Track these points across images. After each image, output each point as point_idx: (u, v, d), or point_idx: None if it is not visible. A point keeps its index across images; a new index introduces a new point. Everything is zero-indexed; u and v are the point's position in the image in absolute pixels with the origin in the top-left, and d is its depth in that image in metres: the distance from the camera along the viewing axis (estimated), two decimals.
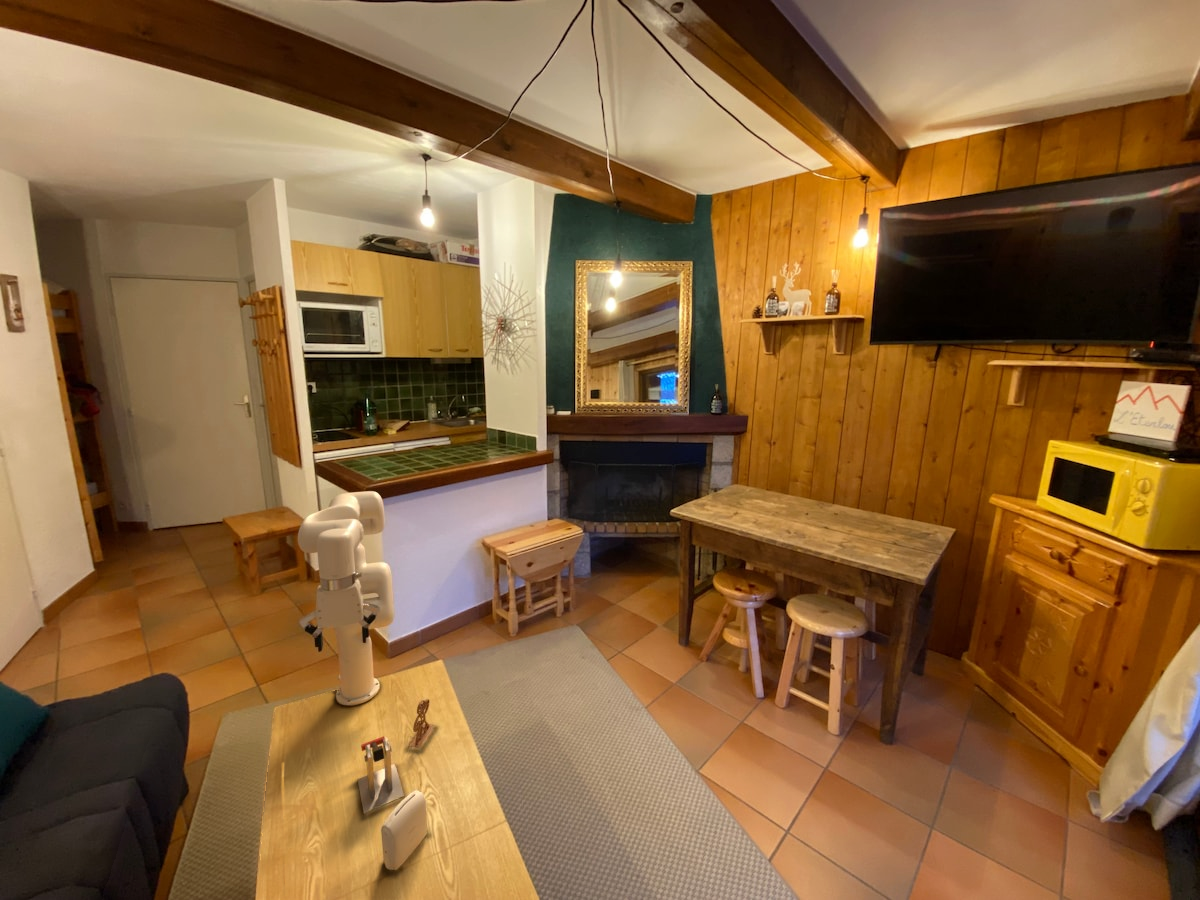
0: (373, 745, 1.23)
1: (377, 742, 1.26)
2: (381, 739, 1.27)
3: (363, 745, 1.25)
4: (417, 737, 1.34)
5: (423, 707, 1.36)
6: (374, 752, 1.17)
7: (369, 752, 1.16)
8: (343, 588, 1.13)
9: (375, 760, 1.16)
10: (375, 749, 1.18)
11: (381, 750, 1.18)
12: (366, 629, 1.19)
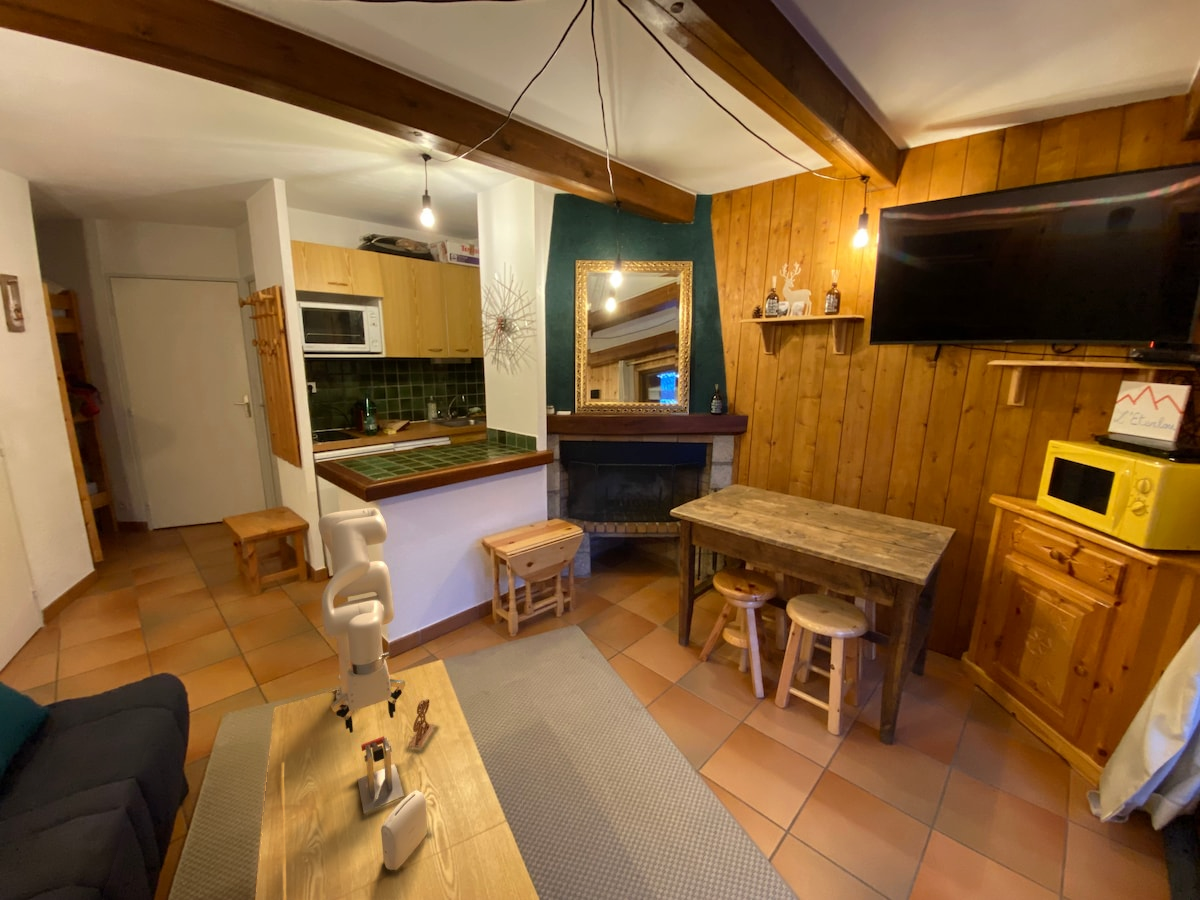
0: (373, 745, 1.23)
1: (377, 742, 1.26)
2: (381, 739, 1.27)
3: (363, 745, 1.25)
4: (417, 737, 1.34)
5: (423, 707, 1.36)
6: (374, 752, 1.17)
7: (369, 752, 1.16)
8: (375, 670, 1.20)
9: (375, 760, 1.16)
10: (375, 749, 1.18)
11: (381, 750, 1.18)
12: (393, 704, 1.26)
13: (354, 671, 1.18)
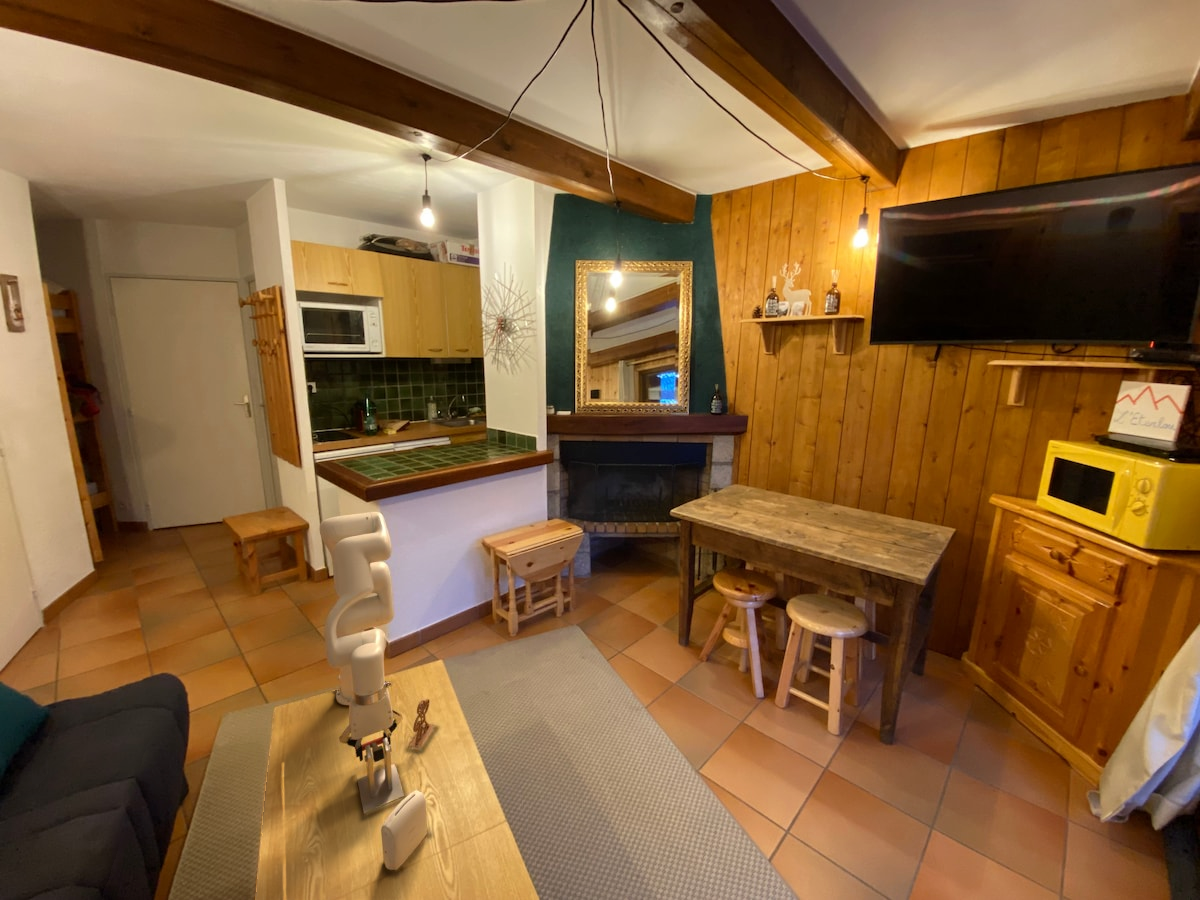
0: (373, 745, 1.23)
1: (377, 742, 1.26)
2: (381, 739, 1.27)
3: (363, 745, 1.25)
4: (417, 737, 1.34)
5: (423, 707, 1.36)
6: (374, 752, 1.17)
7: (369, 752, 1.16)
8: (377, 700, 1.21)
9: (375, 760, 1.16)
10: (375, 749, 1.18)
11: (381, 750, 1.18)
12: (388, 737, 1.28)
13: (357, 701, 1.20)
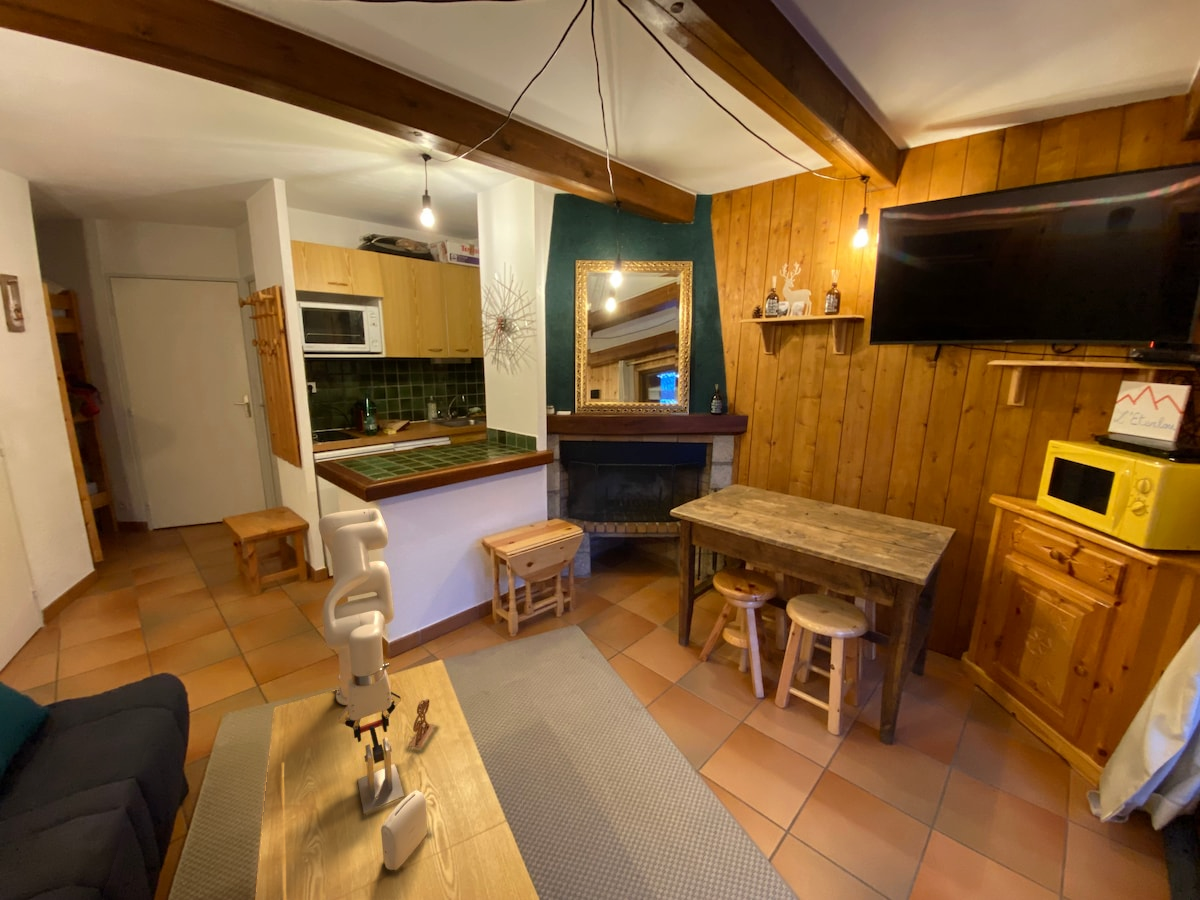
0: (372, 734, 1.23)
1: (376, 726, 1.26)
2: (380, 723, 1.27)
3: (362, 729, 1.24)
4: (417, 737, 1.34)
5: (423, 707, 1.36)
6: (375, 755, 1.16)
7: (369, 752, 1.16)
8: (375, 681, 1.21)
9: (375, 762, 1.17)
10: (375, 750, 1.18)
11: (382, 753, 1.17)
12: (386, 719, 1.28)
13: (355, 682, 1.20)
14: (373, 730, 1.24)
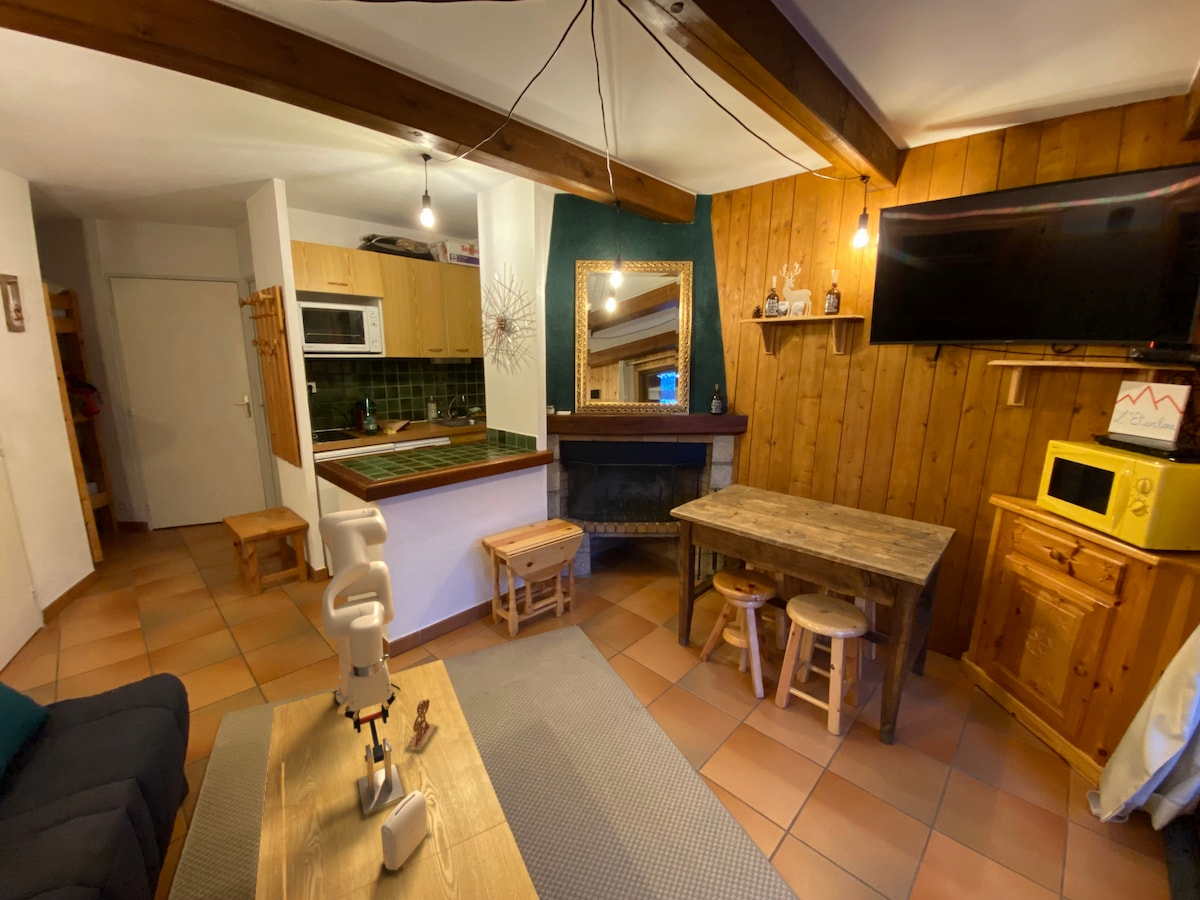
0: (372, 729, 1.22)
1: (375, 718, 1.25)
2: (379, 716, 1.26)
3: (361, 721, 1.23)
4: (417, 737, 1.34)
5: (423, 707, 1.36)
6: (375, 758, 1.16)
7: (369, 752, 1.16)
8: (375, 672, 1.20)
9: (375, 762, 1.17)
10: (376, 752, 1.17)
11: (382, 755, 1.17)
12: (386, 710, 1.26)
13: (355, 673, 1.19)
14: (373, 724, 1.23)
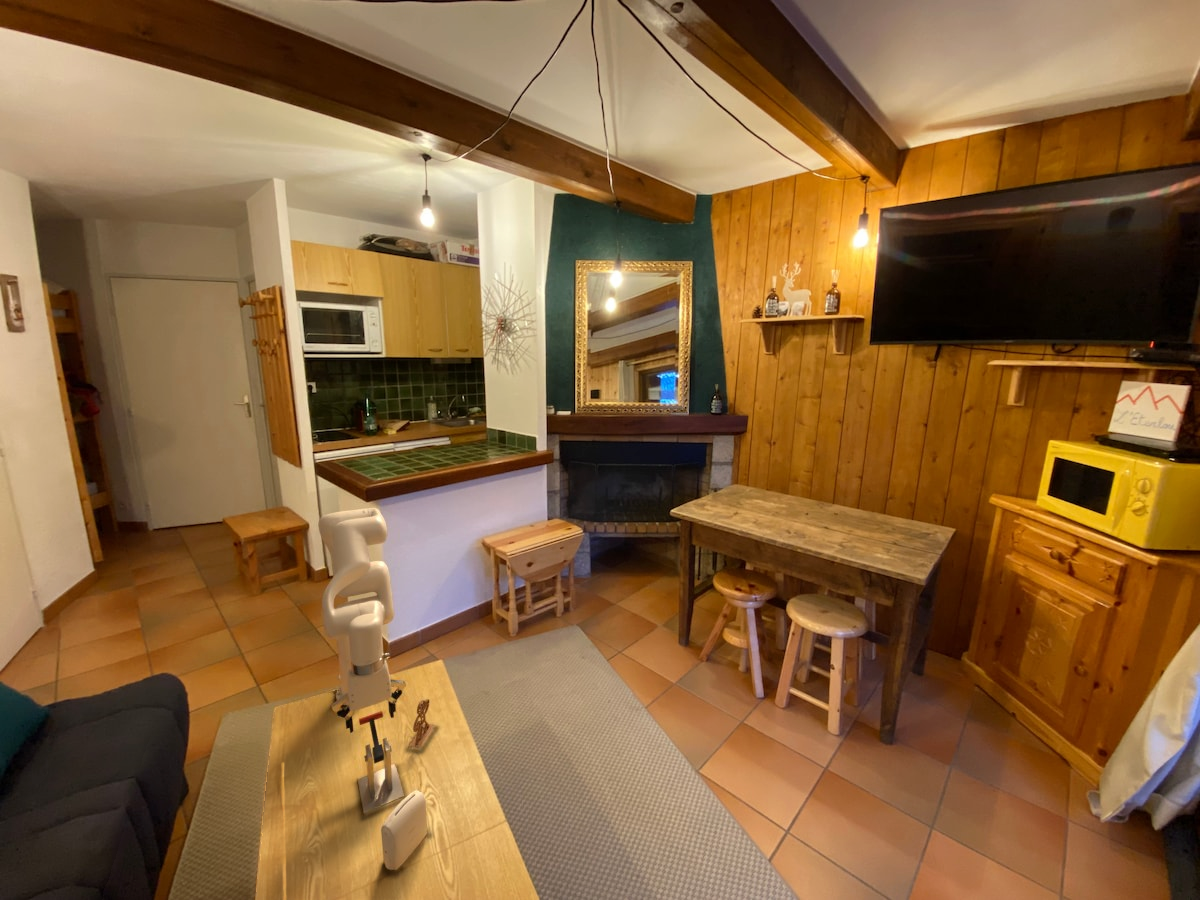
0: (372, 729, 1.22)
1: (375, 718, 1.25)
2: (379, 716, 1.26)
3: (361, 721, 1.23)
4: (417, 737, 1.34)
5: (423, 707, 1.36)
6: (375, 758, 1.16)
7: (369, 752, 1.16)
8: (375, 671, 1.20)
9: (375, 762, 1.17)
10: (376, 752, 1.17)
11: (382, 755, 1.17)
12: (393, 704, 1.27)
13: (355, 672, 1.18)
14: (373, 724, 1.23)
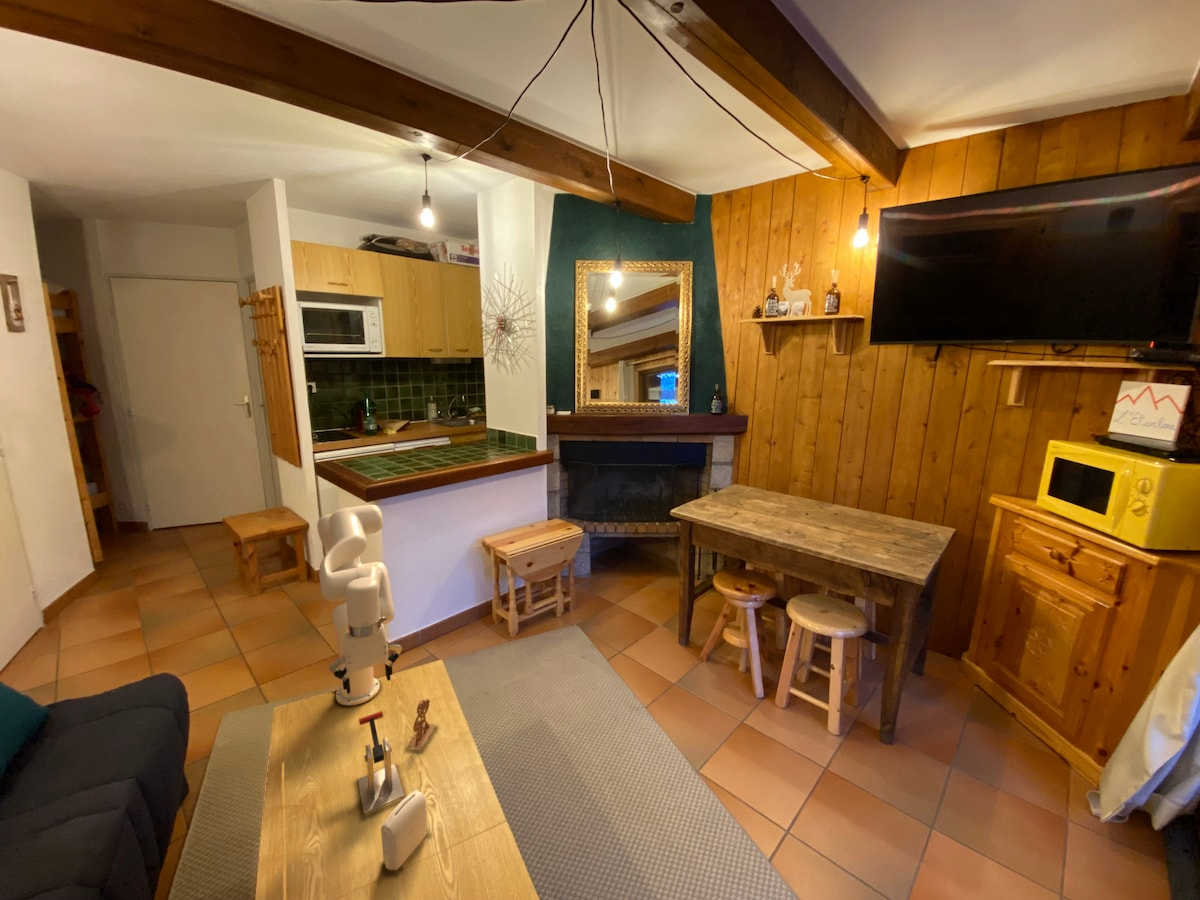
0: (372, 729, 1.22)
1: (375, 718, 1.25)
2: (379, 716, 1.26)
3: (361, 721, 1.23)
4: (417, 737, 1.34)
5: (423, 707, 1.36)
6: (375, 758, 1.16)
7: (369, 752, 1.16)
8: (372, 633, 1.21)
9: (375, 762, 1.17)
10: (376, 752, 1.17)
11: (382, 755, 1.17)
12: (390, 667, 1.28)
13: (352, 633, 1.19)
14: (373, 724, 1.23)
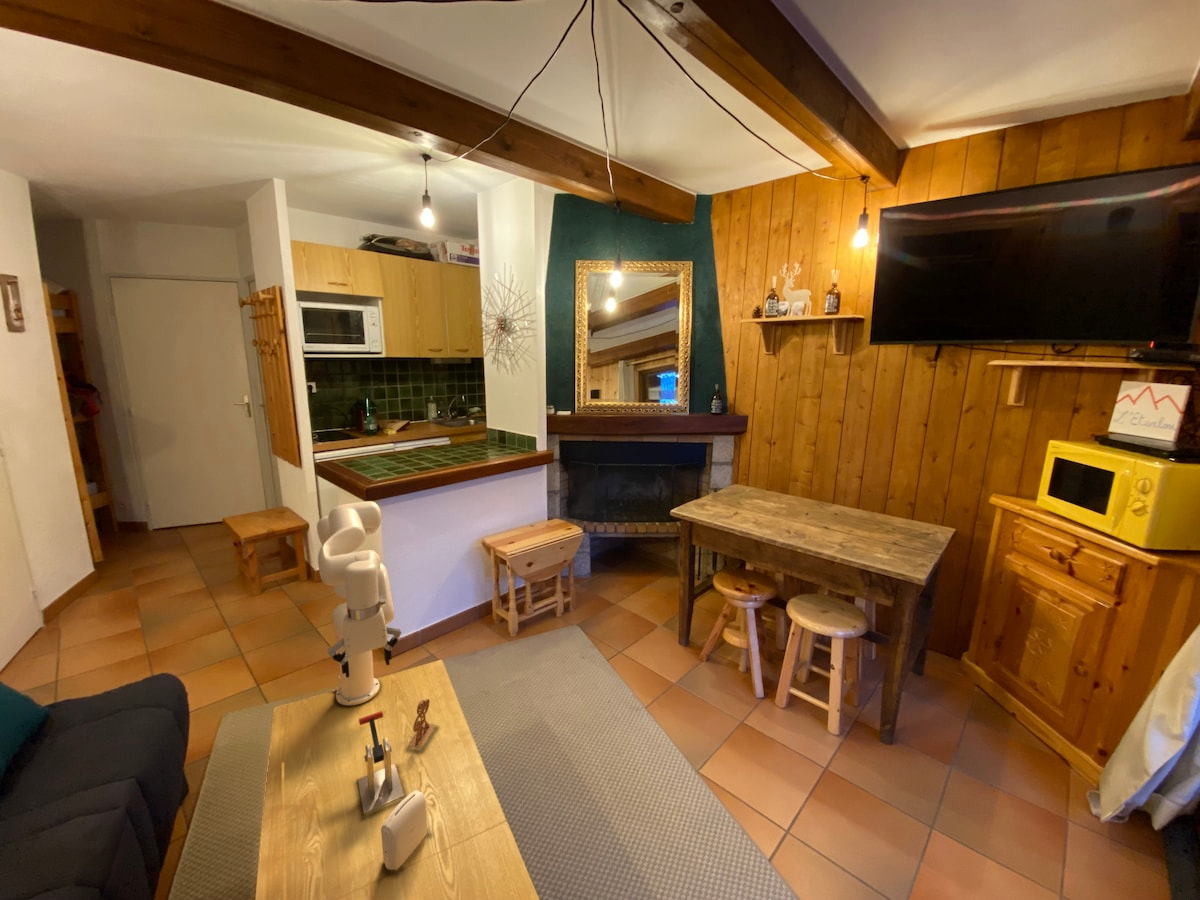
0: (372, 729, 1.22)
1: (375, 718, 1.25)
2: (379, 716, 1.26)
3: (361, 721, 1.23)
4: (417, 737, 1.34)
5: (423, 707, 1.36)
6: (375, 758, 1.16)
7: (369, 752, 1.16)
8: (371, 616, 1.21)
9: (375, 762, 1.17)
10: (376, 752, 1.17)
11: (382, 755, 1.17)
12: (389, 652, 1.28)
13: (350, 616, 1.20)
14: (373, 724, 1.23)
